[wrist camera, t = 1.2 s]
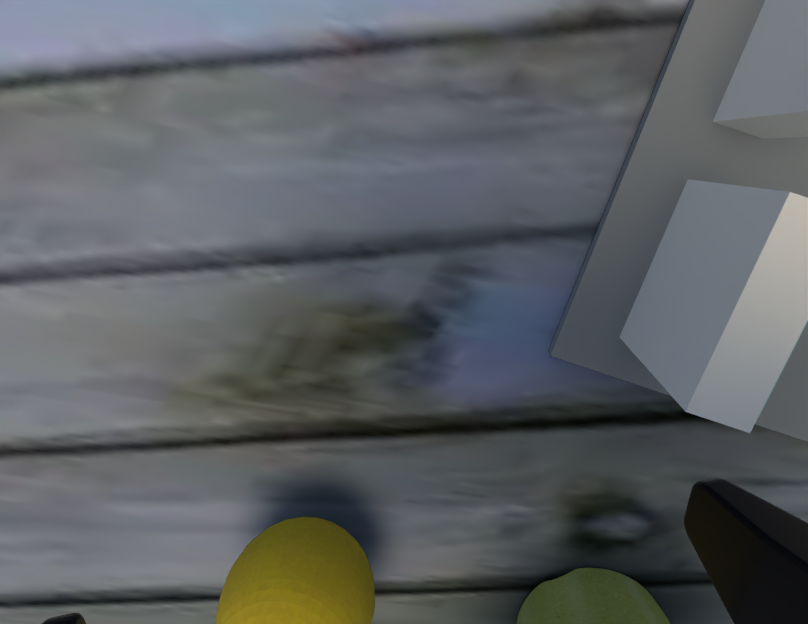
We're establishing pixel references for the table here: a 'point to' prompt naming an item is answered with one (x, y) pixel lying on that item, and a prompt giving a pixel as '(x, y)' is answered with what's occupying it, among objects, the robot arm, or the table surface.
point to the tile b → (771, 75)
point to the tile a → (724, 299)
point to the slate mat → (659, 194)
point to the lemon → (299, 577)
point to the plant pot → (591, 600)
